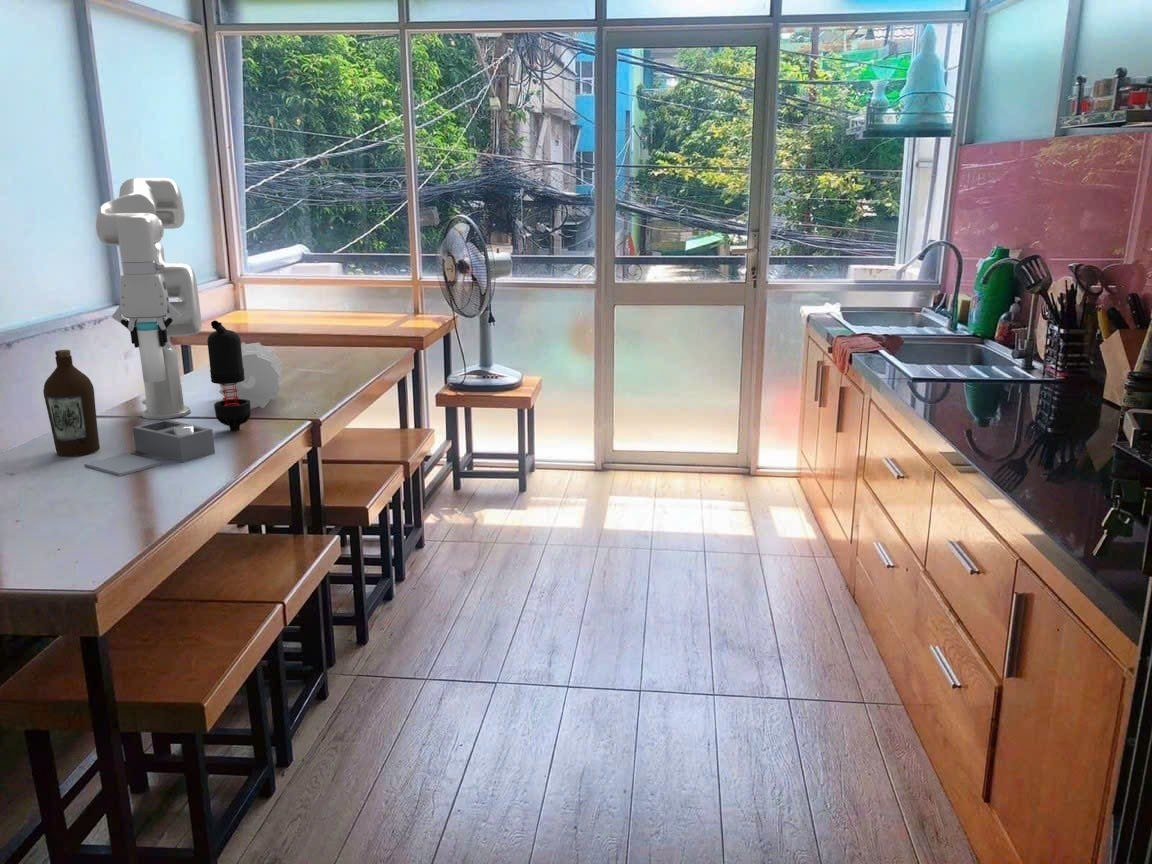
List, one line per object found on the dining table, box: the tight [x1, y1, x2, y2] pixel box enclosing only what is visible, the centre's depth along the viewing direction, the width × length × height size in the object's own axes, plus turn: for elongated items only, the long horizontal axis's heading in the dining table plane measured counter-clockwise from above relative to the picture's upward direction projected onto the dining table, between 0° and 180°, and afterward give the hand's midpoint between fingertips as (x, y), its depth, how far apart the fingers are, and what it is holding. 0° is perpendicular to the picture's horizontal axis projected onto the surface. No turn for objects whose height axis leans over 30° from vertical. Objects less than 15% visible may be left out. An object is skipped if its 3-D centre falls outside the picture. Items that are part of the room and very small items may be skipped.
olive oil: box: [42, 349, 101, 458], centre depth 216 cm, size 11×11×25 cm
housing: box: [132, 419, 216, 463], centre depth 218 cm, size 18×9×6 cm, turn 59°
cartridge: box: [136, 321, 166, 383], centre depth 215 cm, size 5×5×14 cm
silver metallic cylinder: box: [174, 424, 195, 436], centre depth 216 cm, size 4×4×5 cm
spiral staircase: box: [218, 341, 283, 410], centre depth 265 cm, size 18×18×25 cm
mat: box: [84, 452, 162, 477], centre depth 209 cm, size 14×10×1 cm
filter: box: [206, 320, 252, 432], centre depth 236 cm, size 14×9×30 cm
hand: (150, 345), depth 214 cm, fingers closed on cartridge, 5 cm apart
